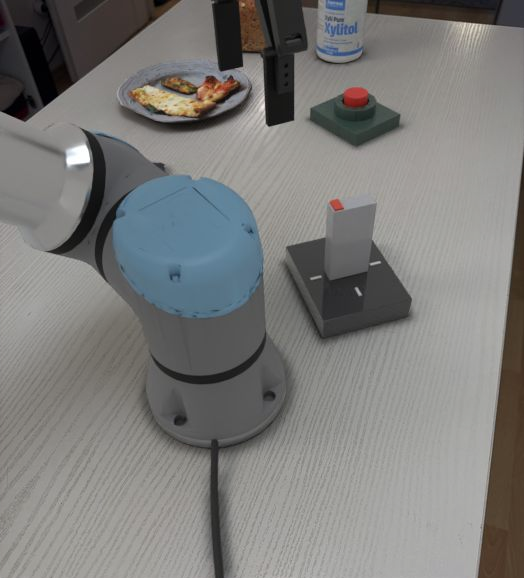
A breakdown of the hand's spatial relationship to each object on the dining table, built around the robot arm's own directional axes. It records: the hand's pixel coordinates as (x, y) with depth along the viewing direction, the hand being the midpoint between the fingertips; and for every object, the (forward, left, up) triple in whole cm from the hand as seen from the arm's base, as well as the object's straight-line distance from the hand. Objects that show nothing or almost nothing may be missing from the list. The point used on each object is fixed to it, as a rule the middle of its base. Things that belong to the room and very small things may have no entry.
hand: (253, 93), depth 57 cm
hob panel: (-9, -8, -22) cm, 25 cm away
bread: (+73, -19, -23) cm, 78 cm away
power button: (+29, -25, -19) cm, 42 cm away
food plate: (+49, +1, -23) cm, 54 cm away
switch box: (+29, -25, -22) cm, 44 cm away
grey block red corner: (-9, -8, -19) cm, 23 cm away
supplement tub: (+56, -33, -23) cm, 69 cm away
